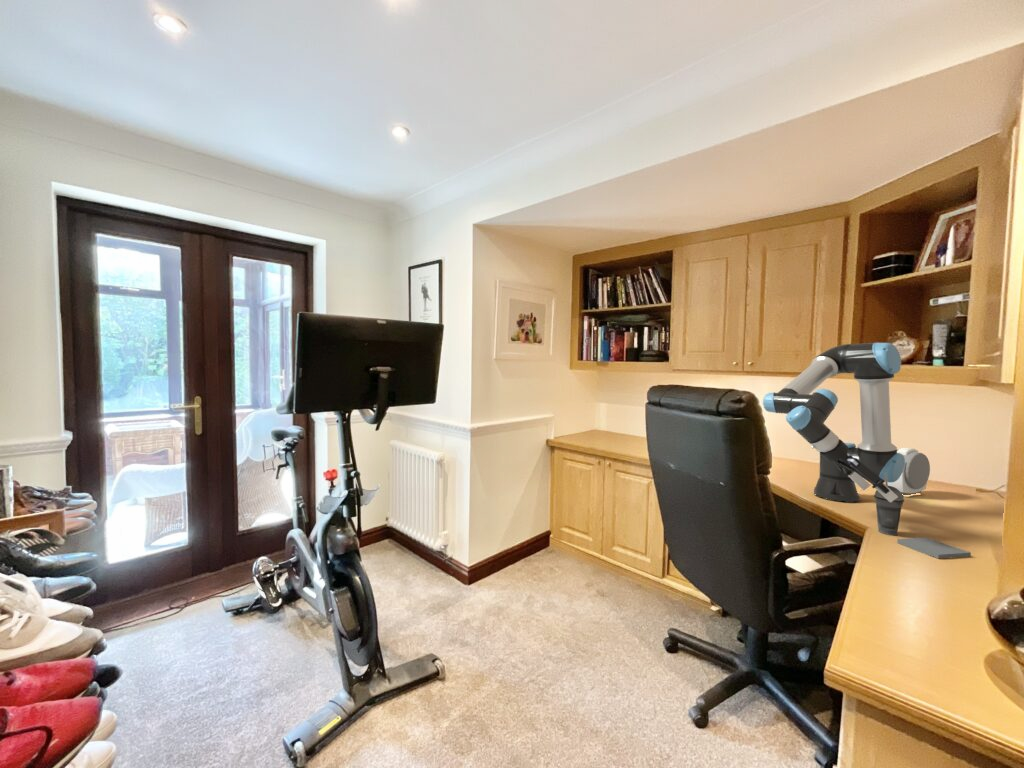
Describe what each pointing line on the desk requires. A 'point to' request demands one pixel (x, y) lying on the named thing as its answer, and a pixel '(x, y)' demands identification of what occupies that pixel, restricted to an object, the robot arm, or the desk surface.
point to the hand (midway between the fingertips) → (879, 493)
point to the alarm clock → (912, 472)
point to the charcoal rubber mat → (933, 547)
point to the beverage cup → (888, 511)
